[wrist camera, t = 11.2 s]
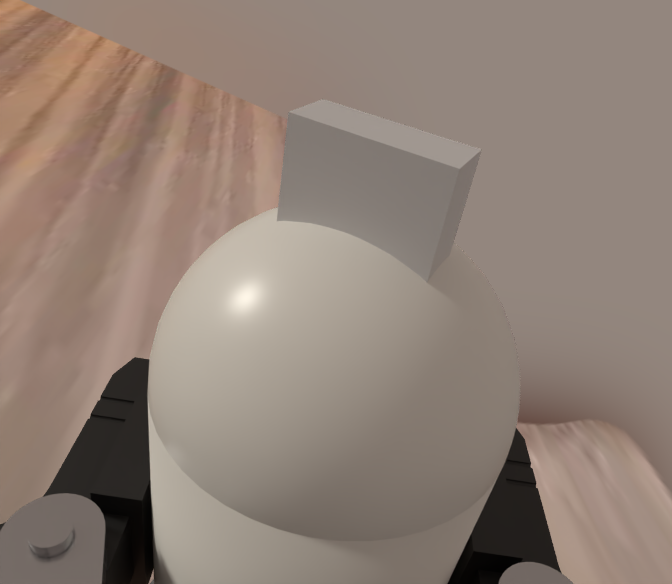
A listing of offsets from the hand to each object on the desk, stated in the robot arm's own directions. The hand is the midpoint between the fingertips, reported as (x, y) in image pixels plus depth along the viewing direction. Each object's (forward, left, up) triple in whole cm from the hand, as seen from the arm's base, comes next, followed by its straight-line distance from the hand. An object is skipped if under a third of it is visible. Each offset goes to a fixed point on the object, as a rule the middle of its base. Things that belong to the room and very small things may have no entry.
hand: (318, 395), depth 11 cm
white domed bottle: (+1, -2, -6) cm, 7 cm away
